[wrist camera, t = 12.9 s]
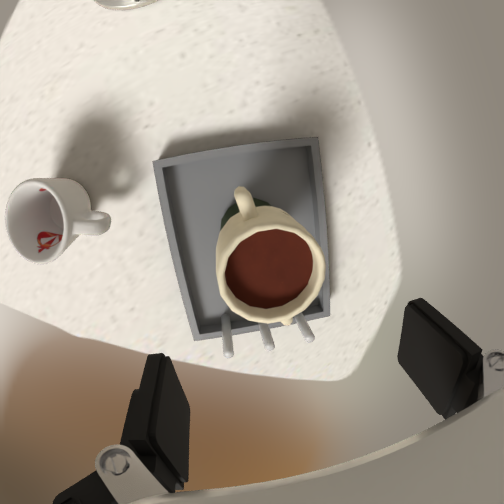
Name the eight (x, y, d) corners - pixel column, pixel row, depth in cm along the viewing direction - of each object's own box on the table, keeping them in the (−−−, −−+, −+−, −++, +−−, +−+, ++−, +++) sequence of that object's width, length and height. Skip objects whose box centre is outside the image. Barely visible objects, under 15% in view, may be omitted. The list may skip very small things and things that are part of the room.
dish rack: (157, 160, 28) (138, 162, 21) (310, 137, 29) (338, 134, 22) (195, 329, 35) (192, 370, 28) (323, 305, 36) (347, 340, 29)
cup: (127, 178, 28) (100, 187, 21) (119, 250, 31) (94, 278, 23) (45, 168, 27) (5, 176, 19) (42, 235, 29) (5, 257, 21)
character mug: (296, 261, 33) (341, 322, 20) (236, 283, 33) (248, 357, 20) (265, 165, 29) (302, 174, 17) (199, 190, 29) (186, 216, 17)
